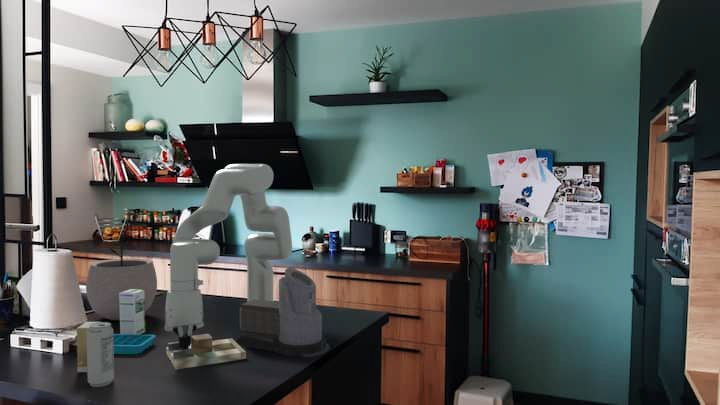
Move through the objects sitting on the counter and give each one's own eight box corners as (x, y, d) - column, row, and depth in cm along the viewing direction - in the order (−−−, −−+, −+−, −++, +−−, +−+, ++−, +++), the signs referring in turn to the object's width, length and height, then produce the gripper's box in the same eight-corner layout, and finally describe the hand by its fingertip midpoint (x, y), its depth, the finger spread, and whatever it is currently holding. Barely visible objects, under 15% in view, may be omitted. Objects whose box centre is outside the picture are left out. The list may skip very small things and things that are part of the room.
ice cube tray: (140, 356, 161) (140, 346, 161) (73, 354, 162) (73, 344, 162) (157, 344, 172) (157, 334, 172) (94, 342, 173) (94, 333, 173)
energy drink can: (100, 377, 143) (99, 320, 142) (119, 380, 141) (118, 322, 140) (82, 386, 137) (81, 326, 136) (101, 389, 135) (101, 328, 134)
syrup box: (135, 337, 179) (135, 292, 178) (119, 335, 180) (118, 292, 179) (145, 332, 184) (145, 289, 184) (130, 331, 186) (129, 288, 185)
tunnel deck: (231, 344, 171) (231, 331, 171) (245, 358, 158) (245, 345, 158) (166, 353, 162) (166, 340, 162) (175, 369, 149) (175, 355, 149)
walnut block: (208, 346, 162) (208, 333, 162) (212, 351, 158) (212, 338, 158) (191, 349, 160) (191, 335, 160) (194, 354, 156) (194, 340, 156)
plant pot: (79, 316, 204) (78, 236, 203) (145, 307, 219) (145, 232, 217) (95, 331, 185) (94, 242, 184) (166, 320, 200) (165, 238, 199)
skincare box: (86, 364, 152) (85, 321, 152) (102, 364, 153) (102, 321, 152) (76, 373, 146) (75, 327, 145) (93, 372, 146) (92, 327, 146)
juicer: (338, 344, 173) (338, 267, 172) (315, 360, 158) (316, 275, 157) (256, 333, 184) (256, 261, 183) (228, 347, 169) (228, 268, 168)
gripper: (207, 281, 163) (207, 342, 164) (154, 285, 156) (155, 349, 157) (213, 285, 157) (214, 349, 157) (158, 290, 149) (159, 356, 150)
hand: (184, 349), depth 157 cm, fingers closed
